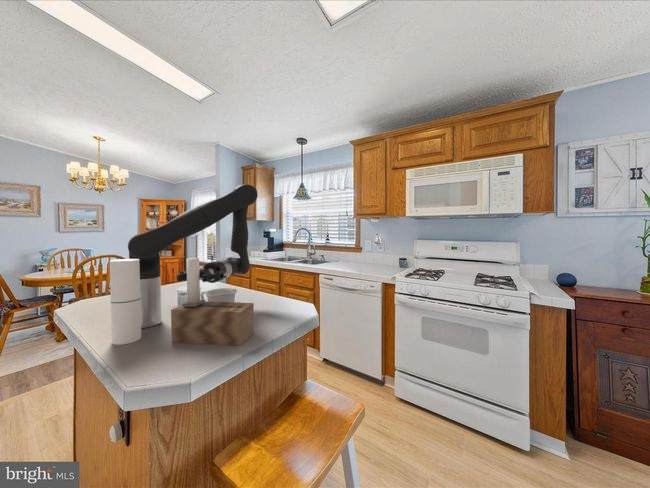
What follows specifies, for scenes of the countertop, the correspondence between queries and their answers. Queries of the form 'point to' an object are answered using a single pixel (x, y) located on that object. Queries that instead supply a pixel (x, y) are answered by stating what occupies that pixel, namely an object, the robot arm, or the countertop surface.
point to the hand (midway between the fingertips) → (190, 278)
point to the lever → (193, 283)
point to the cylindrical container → (125, 301)
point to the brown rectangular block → (213, 323)
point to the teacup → (219, 295)
